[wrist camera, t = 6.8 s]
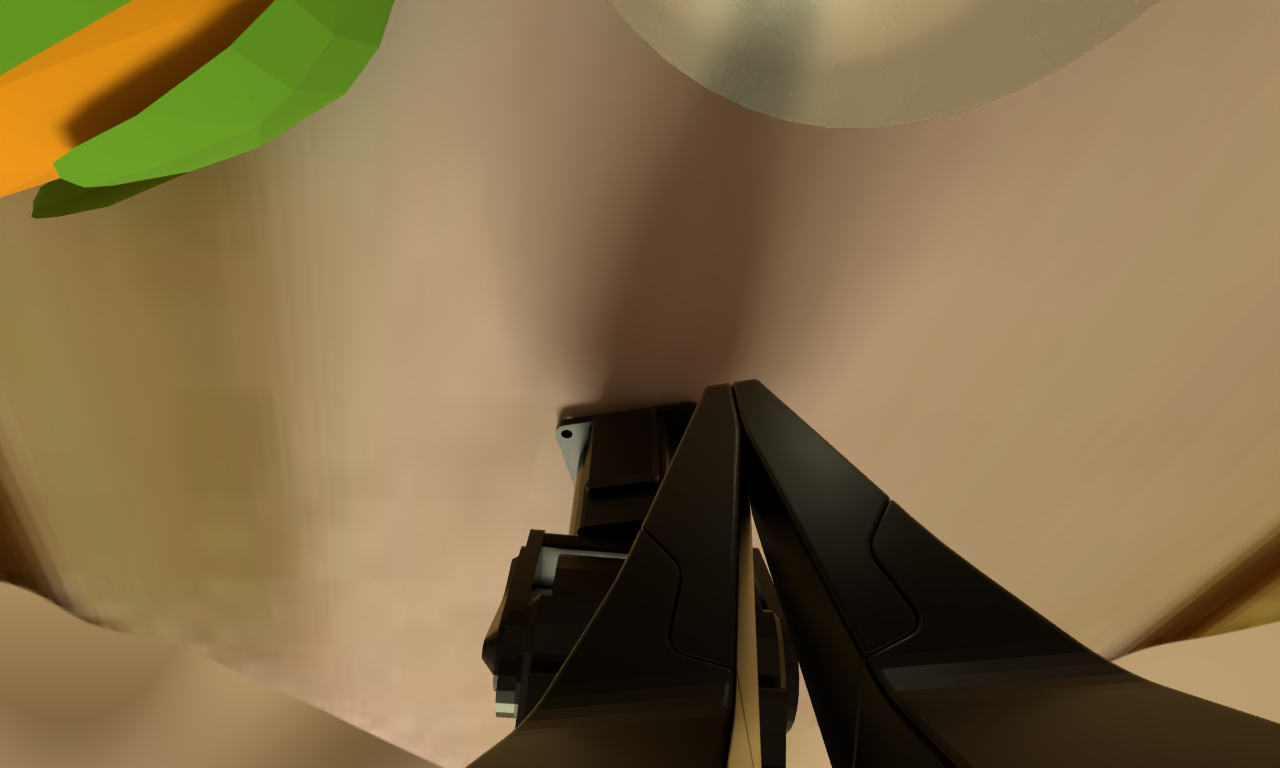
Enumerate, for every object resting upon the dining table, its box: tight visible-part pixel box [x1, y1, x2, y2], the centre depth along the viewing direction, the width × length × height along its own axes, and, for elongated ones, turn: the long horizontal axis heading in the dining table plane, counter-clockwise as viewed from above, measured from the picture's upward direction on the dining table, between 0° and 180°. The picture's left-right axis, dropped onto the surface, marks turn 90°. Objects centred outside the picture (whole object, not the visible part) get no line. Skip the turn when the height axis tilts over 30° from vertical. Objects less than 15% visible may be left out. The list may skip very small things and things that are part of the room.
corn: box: [0, 0, 394, 219], centre depth 14 cm, size 7×8×20 cm
